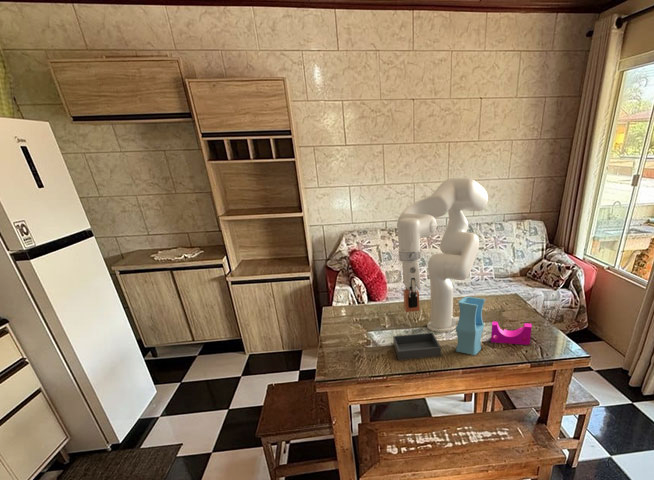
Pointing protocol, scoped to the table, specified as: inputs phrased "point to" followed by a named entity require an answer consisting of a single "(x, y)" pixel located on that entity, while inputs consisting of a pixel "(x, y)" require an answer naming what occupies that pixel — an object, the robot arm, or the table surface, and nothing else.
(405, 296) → the wooden block
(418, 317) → the table surface
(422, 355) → the tub
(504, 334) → the toy block
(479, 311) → the vase
